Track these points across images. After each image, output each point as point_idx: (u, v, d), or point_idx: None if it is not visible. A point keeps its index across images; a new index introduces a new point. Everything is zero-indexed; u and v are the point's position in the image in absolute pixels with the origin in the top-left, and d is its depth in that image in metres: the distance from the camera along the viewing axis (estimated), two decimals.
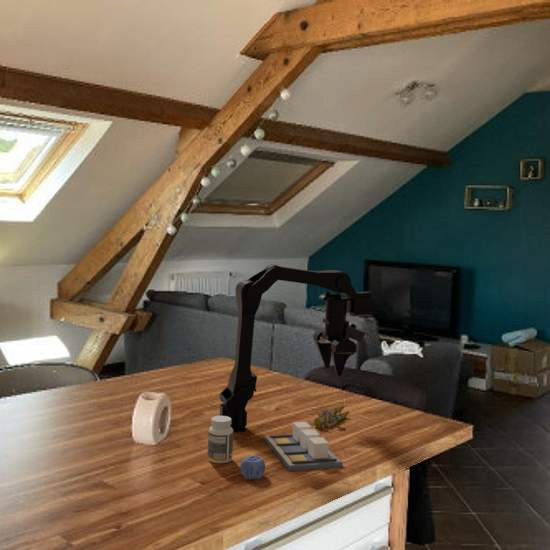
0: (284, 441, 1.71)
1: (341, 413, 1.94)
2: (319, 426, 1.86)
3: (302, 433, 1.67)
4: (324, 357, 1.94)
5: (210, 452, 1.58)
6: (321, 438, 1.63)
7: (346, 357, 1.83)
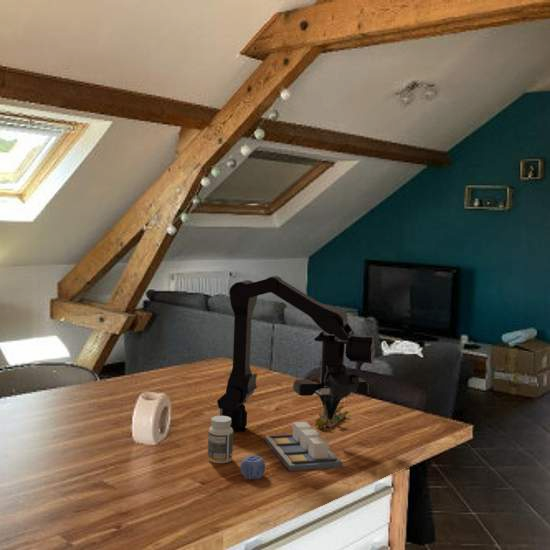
0: (284, 441, 1.71)
1: (341, 413, 1.94)
2: (321, 426, 1.86)
3: (302, 433, 1.67)
4: None
5: (210, 452, 1.58)
6: (321, 438, 1.63)
7: None
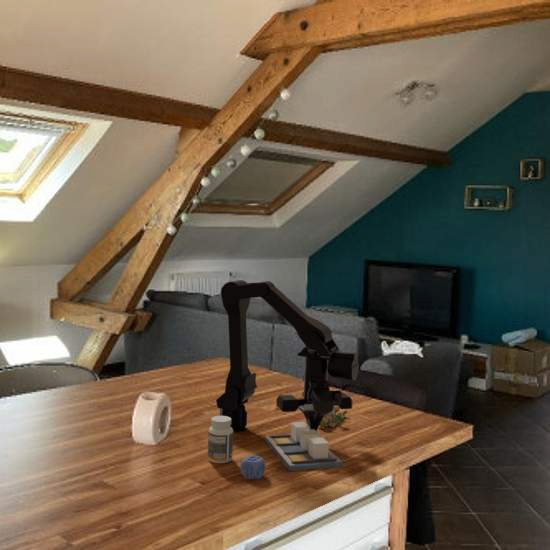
0: (284, 441, 1.71)
1: (341, 412, 1.94)
2: None
3: (302, 433, 1.67)
4: None
5: (210, 452, 1.58)
6: (321, 438, 1.63)
7: None
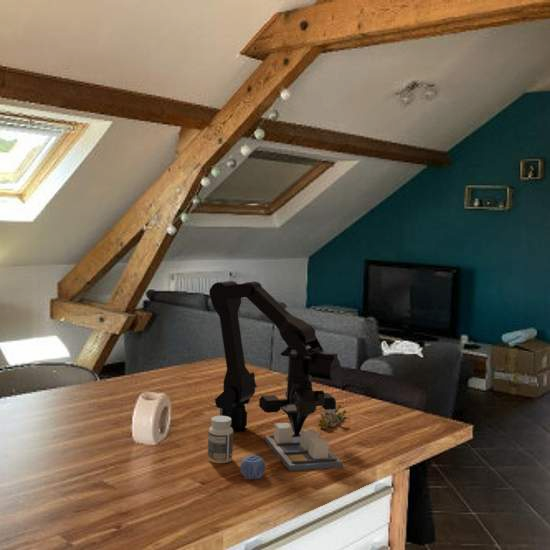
0: None
1: (340, 412, 1.95)
2: (325, 427, 1.85)
3: (302, 433, 1.67)
4: None
5: (211, 452, 1.58)
6: (321, 438, 1.63)
7: None
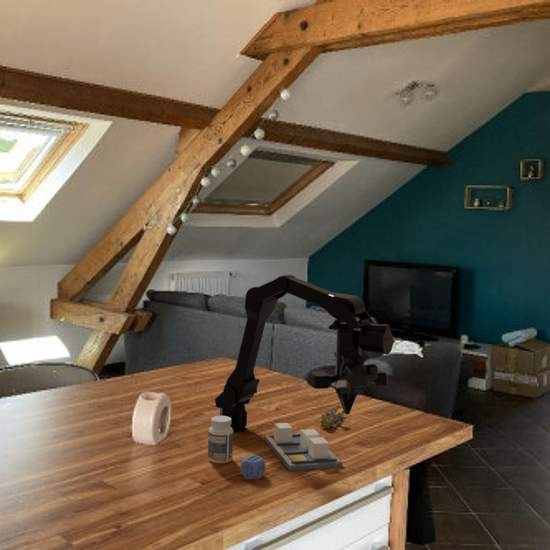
0: None
1: (340, 413, 1.95)
2: (326, 427, 1.85)
3: (302, 433, 1.67)
4: None
5: (210, 452, 1.58)
6: (321, 438, 1.63)
7: (341, 393, 1.61)
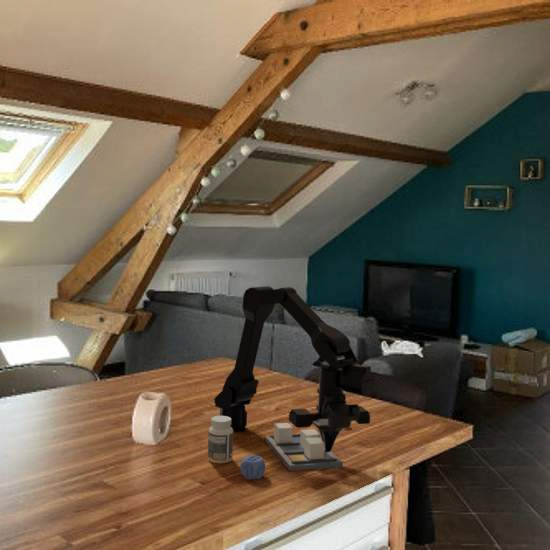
0: None
1: None
2: None
3: (302, 433, 1.67)
4: None
5: (210, 452, 1.58)
6: (317, 438, 1.62)
7: (322, 431, 1.60)
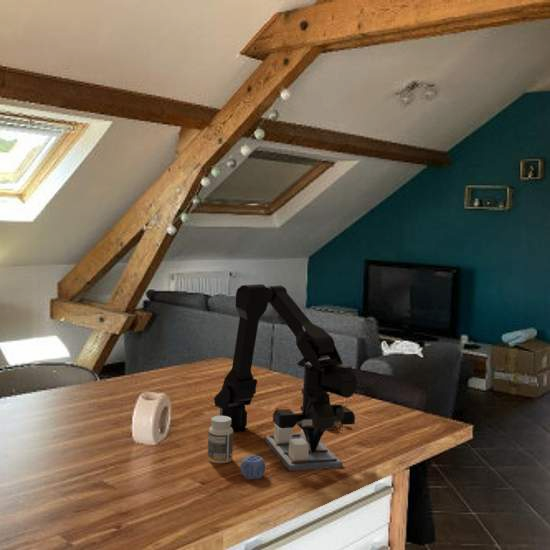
0: None
1: None
2: None
3: (302, 433, 1.67)
4: None
5: (210, 452, 1.58)
6: (301, 439, 1.61)
7: None
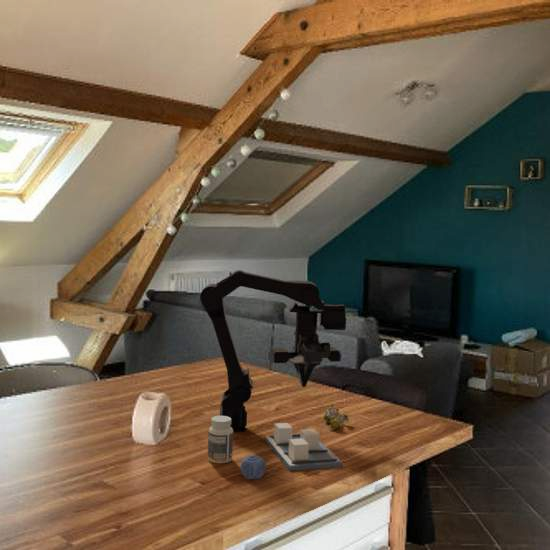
0: None
1: (337, 411, 1.96)
2: (336, 428, 1.85)
3: (302, 433, 1.67)
4: (303, 374, 1.83)
5: (210, 452, 1.58)
6: (301, 439, 1.61)
7: None
